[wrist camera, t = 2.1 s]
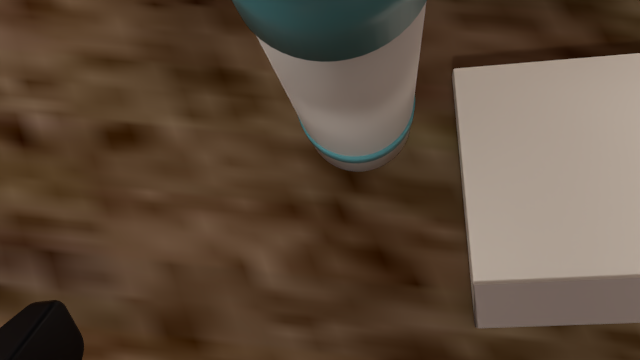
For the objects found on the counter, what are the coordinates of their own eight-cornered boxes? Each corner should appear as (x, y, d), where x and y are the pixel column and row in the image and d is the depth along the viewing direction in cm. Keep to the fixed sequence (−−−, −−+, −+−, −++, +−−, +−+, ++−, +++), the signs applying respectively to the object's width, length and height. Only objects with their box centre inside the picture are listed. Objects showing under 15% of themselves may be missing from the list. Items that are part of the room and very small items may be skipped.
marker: (307, 177, 21) (183, 6, 8) (303, 74, 22) (184, -224, 9) (417, 170, 21) (462, -22, 8) (409, 65, 21) (438, -261, 9)
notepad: (474, 326, 19) (478, 328, 19) (451, 74, 21) (453, 67, 20) (762, 316, 18) (776, 317, 18) (712, 53, 20) (724, 45, 20)
